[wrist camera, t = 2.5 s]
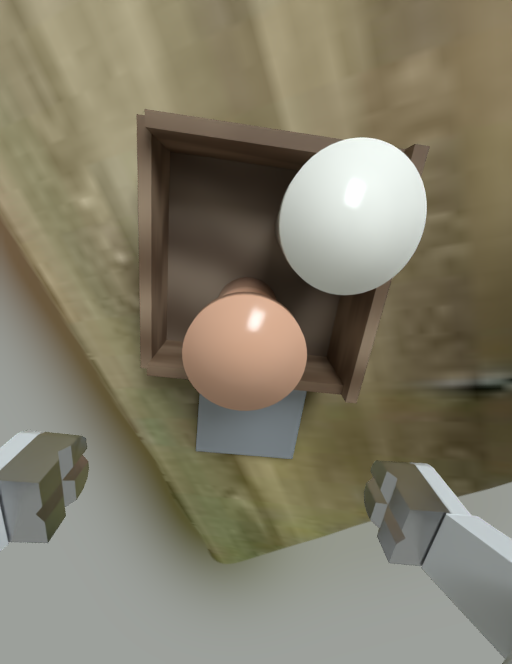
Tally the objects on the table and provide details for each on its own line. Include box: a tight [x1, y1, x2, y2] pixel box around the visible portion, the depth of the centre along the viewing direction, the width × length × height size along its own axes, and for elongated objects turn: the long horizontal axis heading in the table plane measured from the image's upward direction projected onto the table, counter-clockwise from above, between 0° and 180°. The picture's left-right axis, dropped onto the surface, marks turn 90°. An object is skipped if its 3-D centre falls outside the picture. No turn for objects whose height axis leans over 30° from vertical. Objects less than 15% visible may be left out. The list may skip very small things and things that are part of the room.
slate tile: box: [196, 390, 307, 459], centre depth 28 cm, size 10×10×1 cm
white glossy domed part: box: [275, 138, 427, 295], centre depth 17 cm, size 6×6×10 cm
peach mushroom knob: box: [182, 277, 307, 411], centre depth 19 cm, size 6×6×10 cm
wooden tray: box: [137, 109, 430, 403], centre depth 20 cm, size 16×16×7 cm
